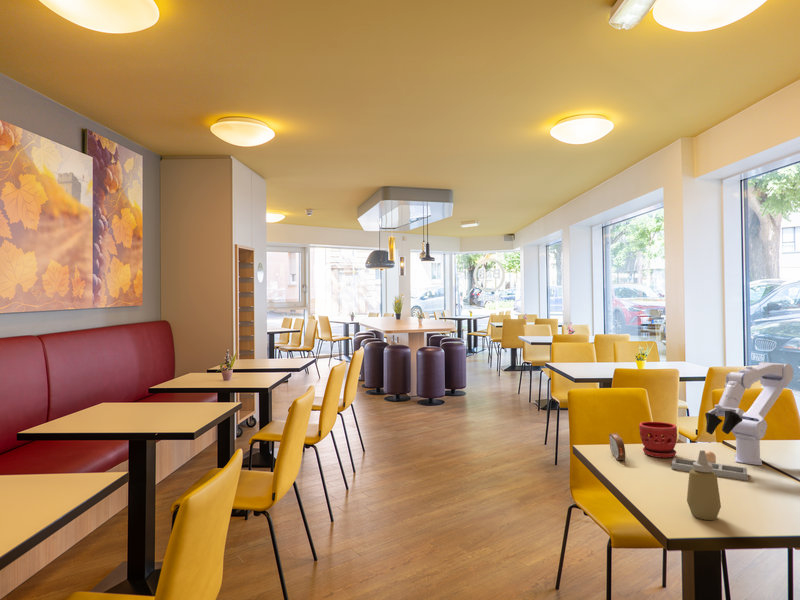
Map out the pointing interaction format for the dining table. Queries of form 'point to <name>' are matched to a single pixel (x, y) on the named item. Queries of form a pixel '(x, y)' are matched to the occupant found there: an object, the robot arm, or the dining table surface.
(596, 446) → the dining table surface
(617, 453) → the tin
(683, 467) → the grey compartment tray
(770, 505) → the dining table surface
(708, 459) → the egg
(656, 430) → the plant pot
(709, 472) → the squeeze bottle
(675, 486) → the dining table surface
